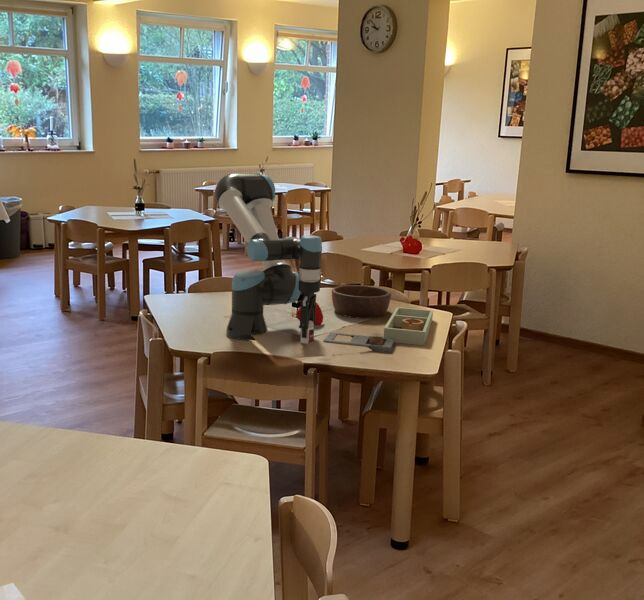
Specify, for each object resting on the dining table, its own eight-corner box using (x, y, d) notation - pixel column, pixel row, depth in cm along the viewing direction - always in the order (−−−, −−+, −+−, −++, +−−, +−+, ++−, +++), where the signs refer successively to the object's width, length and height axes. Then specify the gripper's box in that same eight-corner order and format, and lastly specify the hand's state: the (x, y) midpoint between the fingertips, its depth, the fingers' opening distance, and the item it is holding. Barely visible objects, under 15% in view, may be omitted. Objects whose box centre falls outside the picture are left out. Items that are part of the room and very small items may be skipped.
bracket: (421, 342, 287) (422, 324, 285) (399, 339, 289) (400, 322, 287) (426, 331, 304) (427, 314, 302) (405, 328, 306) (407, 312, 304)
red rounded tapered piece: (308, 329, 295) (291, 308, 294) (328, 315, 295) (311, 293, 293) (308, 335, 286) (291, 313, 284) (328, 320, 285) (311, 298, 283)
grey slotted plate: (323, 345, 266) (323, 340, 266) (330, 337, 278) (330, 332, 277) (390, 352, 261) (390, 347, 261) (394, 344, 273) (395, 338, 272)
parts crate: (383, 341, 276) (384, 328, 275) (395, 318, 311) (396, 307, 310) (424, 345, 273) (425, 332, 272) (432, 322, 308) (433, 310, 307)
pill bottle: (303, 346, 264) (304, 323, 262) (298, 343, 269) (299, 320, 267) (315, 345, 266) (316, 322, 264) (310, 342, 270) (311, 319, 269)
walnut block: (369, 348, 266) (370, 336, 265) (369, 345, 270) (370, 333, 270) (382, 349, 266) (383, 336, 265) (381, 345, 270) (382, 333, 269)
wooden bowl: (401, 318, 314) (403, 294, 312) (354, 324, 300) (355, 299, 298) (365, 305, 334) (366, 283, 332) (319, 311, 320) (320, 287, 318)
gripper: (313, 286, 252) (310, 351, 257) (325, 276, 271) (322, 337, 276) (292, 284, 254) (289, 349, 259) (305, 274, 272) (303, 335, 277)
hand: (306, 343), depth 267 cm, fingers open, 6 cm apart
